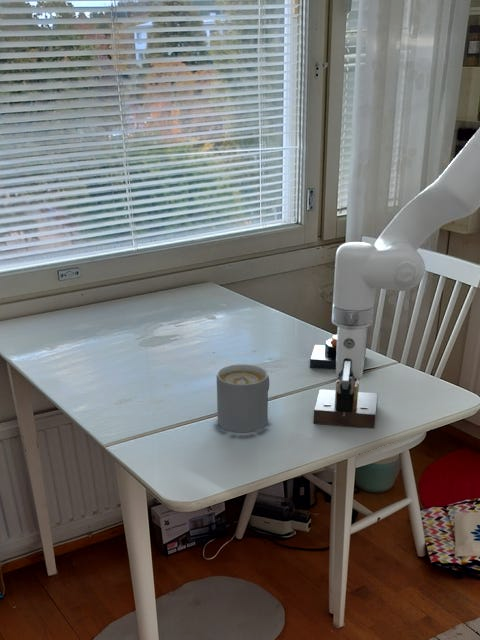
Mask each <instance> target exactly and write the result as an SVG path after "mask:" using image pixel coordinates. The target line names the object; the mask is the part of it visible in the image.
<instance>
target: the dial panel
mask: <svg viewBox="0 0 480 640" xmlns="http://www.w3.org/2000/svg"><path fill="white" fill-rule="evenodd" d="M335 391H336V389H324V388H323V389H322V388H321V389H319V390H318V393H317V397H316V401H315V405H314V408H313V420H312V423H313V424H314V425H325V426H326V425H327V426H338V427H340V426H341V427H352V428H363V429H364V428H365V429H375V427H376V417H377V409H378V401H379V399H378V397H379V393H377V392H363V391H358V400H357V408H356V409H355V410H353V411H352V412H338V411H336V408H335Z"/></svg>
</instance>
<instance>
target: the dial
mask: <svg viewBox="0 0 480 640" xmlns="http://www.w3.org/2000/svg"><path fill="white" fill-rule="evenodd" d="M349 384H350V385H351V381H349ZM359 386H360V383H359V380H357V381H356V380H354V385H353V392H354V401H353V410H355V409H356V408H357V400H358V392H359ZM338 388H339V379H337V380H336V381H335V390H336V391H335V408H336V401H337V391H338Z"/></svg>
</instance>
